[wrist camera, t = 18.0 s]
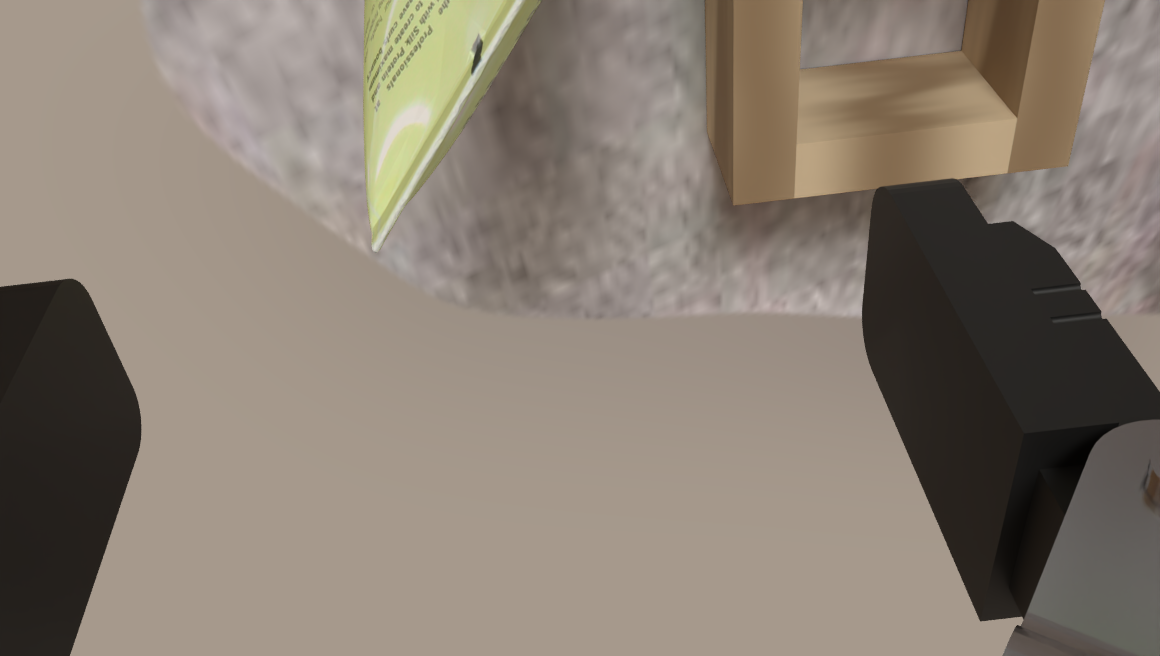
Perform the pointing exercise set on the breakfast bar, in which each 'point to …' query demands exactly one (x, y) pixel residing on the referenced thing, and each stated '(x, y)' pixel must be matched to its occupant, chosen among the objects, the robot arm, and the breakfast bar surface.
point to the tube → (425, 88)
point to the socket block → (893, 100)
